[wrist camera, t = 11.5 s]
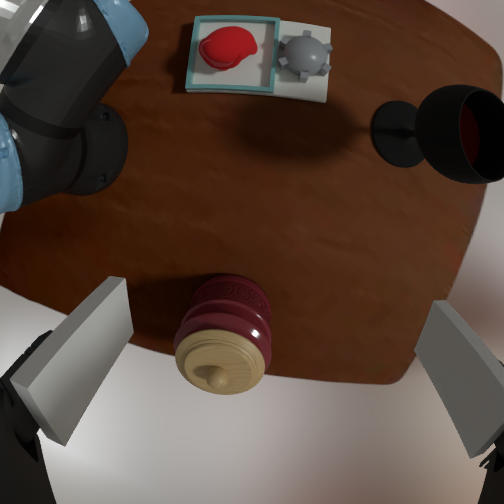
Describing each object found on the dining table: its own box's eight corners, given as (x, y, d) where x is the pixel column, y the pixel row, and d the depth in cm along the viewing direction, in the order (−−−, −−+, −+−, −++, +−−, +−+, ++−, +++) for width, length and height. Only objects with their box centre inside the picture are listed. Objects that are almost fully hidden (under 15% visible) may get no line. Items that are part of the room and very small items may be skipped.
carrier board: (188, 92, 35) (181, 87, 32) (198, 21, 31) (192, 12, 28) (324, 103, 35) (330, 99, 32) (329, 31, 31) (334, 21, 27)
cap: (203, 80, 31) (242, 66, 27) (185, 41, 27) (222, 23, 24) (235, 66, 35) (270, 54, 32) (219, 32, 32) (254, 18, 28)
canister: (194, 334, 49) (168, 409, 33) (191, 268, 45) (153, 335, 28) (267, 341, 49) (266, 421, 33) (274, 274, 44) (278, 348, 28)
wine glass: (430, 108, 34) (520, 99, 15) (428, 172, 37) (516, 198, 19) (371, 94, 34) (448, 64, 15) (369, 163, 38) (447, 181, 19)
